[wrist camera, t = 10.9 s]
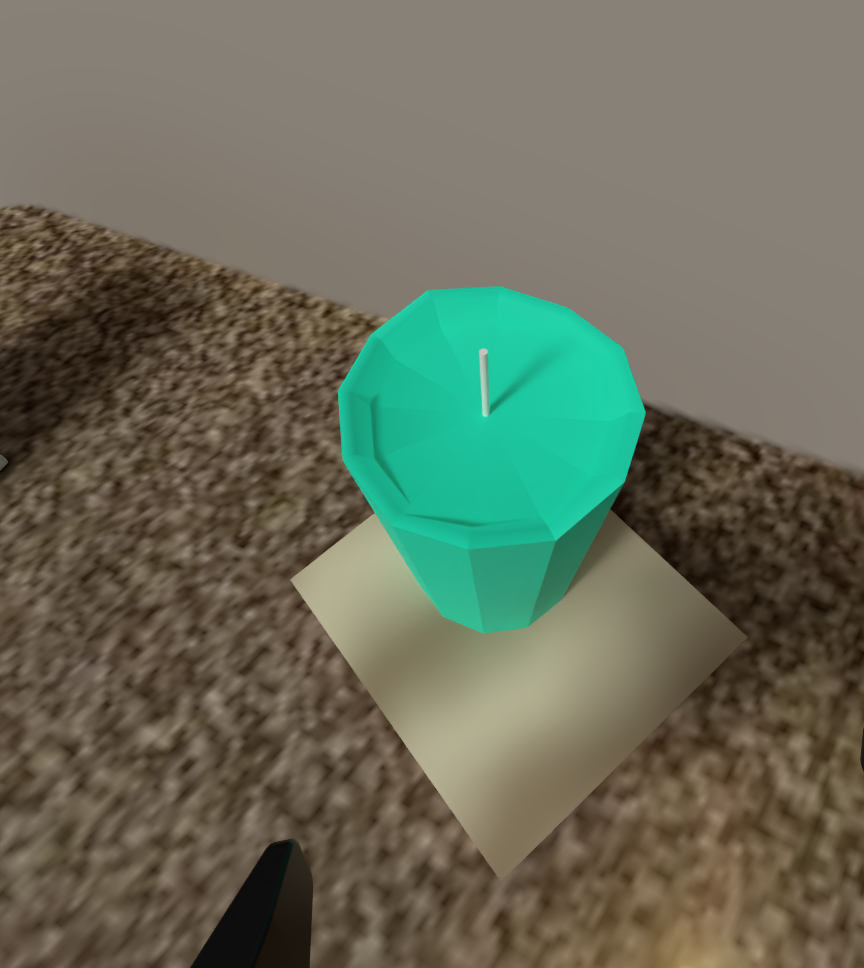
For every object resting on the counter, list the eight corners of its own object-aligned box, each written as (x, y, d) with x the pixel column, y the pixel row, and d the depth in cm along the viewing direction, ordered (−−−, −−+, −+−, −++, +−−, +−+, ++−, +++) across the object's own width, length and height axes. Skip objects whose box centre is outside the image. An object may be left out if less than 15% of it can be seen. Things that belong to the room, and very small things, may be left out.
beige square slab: (724, 644, 19) (748, 637, 18) (500, 864, 18) (500, 881, 16) (503, 434, 24) (504, 410, 22) (307, 590, 22) (290, 579, 20)
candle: (391, 514, 21) (273, 295, 10) (529, 456, 21) (561, 182, 10) (449, 661, 18) (376, 584, 8) (604, 593, 19) (752, 424, 8)
